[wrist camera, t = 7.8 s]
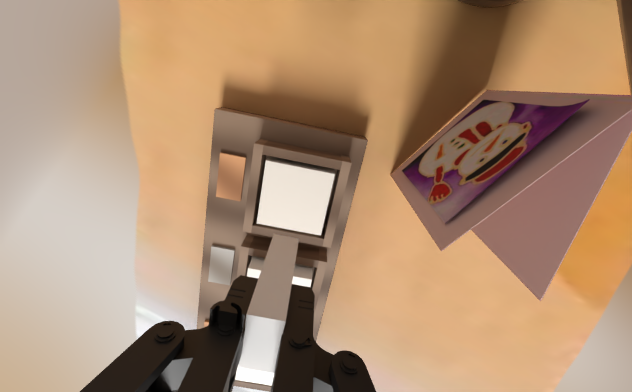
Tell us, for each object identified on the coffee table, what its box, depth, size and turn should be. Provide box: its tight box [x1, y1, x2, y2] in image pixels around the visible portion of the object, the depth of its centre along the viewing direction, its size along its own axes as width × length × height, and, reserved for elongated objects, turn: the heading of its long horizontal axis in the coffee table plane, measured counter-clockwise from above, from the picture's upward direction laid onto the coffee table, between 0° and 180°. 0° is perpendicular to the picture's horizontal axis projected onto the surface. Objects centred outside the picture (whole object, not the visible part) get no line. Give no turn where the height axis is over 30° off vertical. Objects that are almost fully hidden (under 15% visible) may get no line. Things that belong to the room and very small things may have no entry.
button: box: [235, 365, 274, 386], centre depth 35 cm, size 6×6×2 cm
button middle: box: [247, 256, 313, 287], centre depth 30 cm, size 6×6×2 cm
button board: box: [197, 107, 368, 392], centre depth 32 cm, size 32×14×4 cm, turn 169°
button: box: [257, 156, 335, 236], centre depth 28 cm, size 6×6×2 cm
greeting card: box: [391, 90, 632, 301], centre depth 23 cm, size 11×7×15 cm, turn 135°
